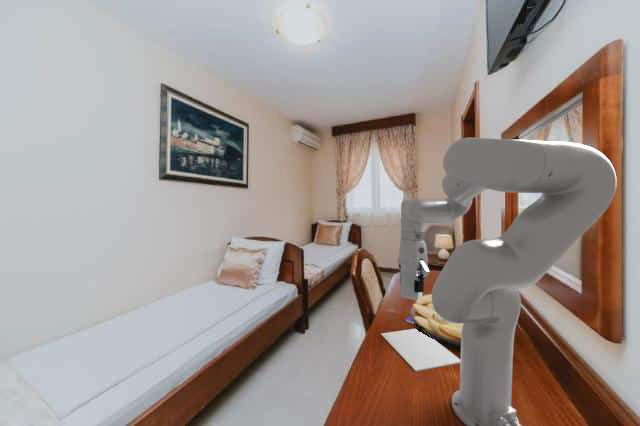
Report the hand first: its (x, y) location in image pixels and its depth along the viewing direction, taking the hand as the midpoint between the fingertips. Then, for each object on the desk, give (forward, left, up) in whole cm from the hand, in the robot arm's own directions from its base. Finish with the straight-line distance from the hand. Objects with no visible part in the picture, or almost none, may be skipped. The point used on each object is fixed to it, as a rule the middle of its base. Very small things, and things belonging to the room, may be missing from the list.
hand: (411, 287), depth 84 cm
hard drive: (+12, -14, -19) cm, 27 cm away
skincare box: (0, 0, -4) cm, 4 cm away
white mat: (-4, 0, -19) cm, 19 cm away
